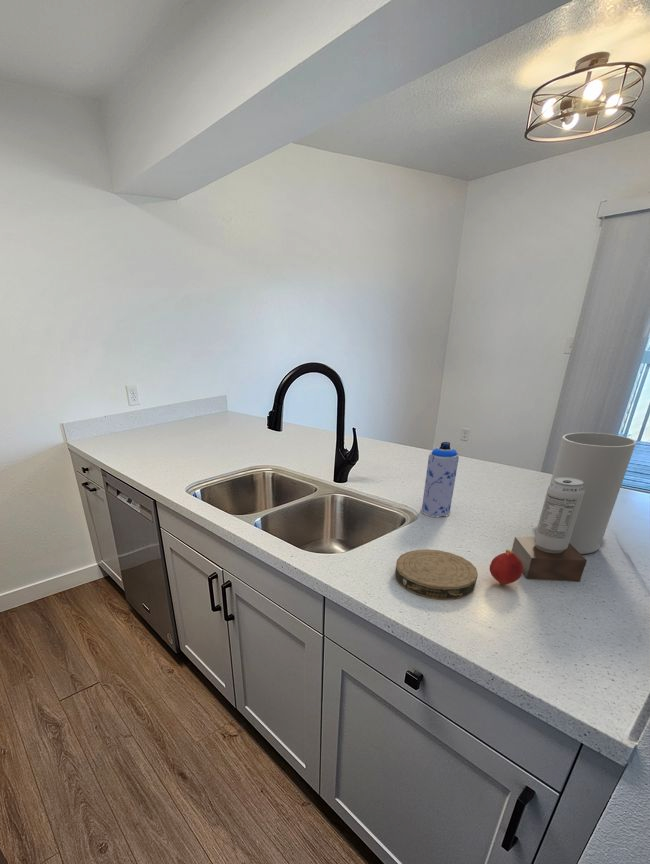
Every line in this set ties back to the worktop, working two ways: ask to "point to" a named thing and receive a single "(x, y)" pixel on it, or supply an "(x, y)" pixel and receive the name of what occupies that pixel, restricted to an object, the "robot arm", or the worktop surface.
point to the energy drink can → (559, 514)
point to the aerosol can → (440, 481)
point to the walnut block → (548, 561)
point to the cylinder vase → (594, 481)
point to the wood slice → (436, 574)
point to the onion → (506, 568)
